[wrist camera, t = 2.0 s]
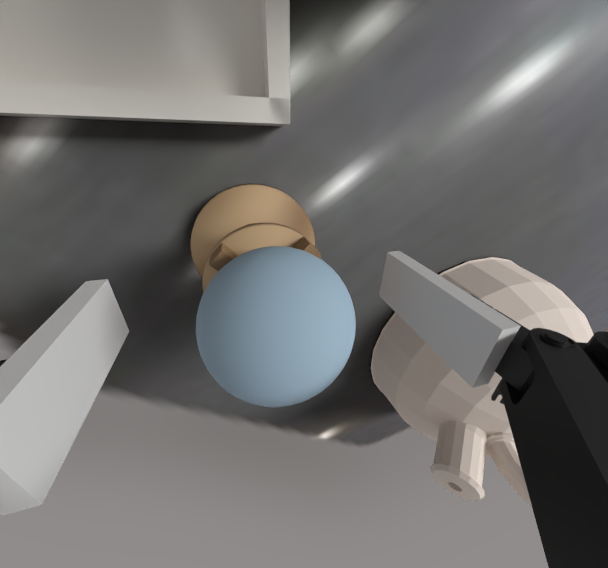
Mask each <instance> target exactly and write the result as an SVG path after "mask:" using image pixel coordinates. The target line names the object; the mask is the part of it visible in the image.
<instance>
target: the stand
mask: <svg viewBox="0 0 608 568" xmlns="http://www.w3.org/2000/svg"><path fill="white" fill-rule="evenodd" d="M269 246H283V247H292V248H296V249H300V250H303V251H306V252H308V253H310V254H312V255H314V256H316V257H318V258H319V259H321V258H320V256H321V253H320V252H319V251H318V250H317V249H316V248H315V238H314V231H313V228H312V225H311V222H310V220H309V218H308V216H307V214H306V213H305V211H304V210H303V209H302V208H301V206H300V205H299V204H298V203H297V202H296V201H294V200H293V199H292V198H291V197H290V196H288V195H287V194H285V193H284V192H282V191H280V190H278V189H276V188H273V187H270V186H267V185H262V184H241V185H237V186H233V187H230V188H228V189H225V190H223V191H222V192H220V193H218V194H217V195H215V196H214V197H213V198H211V199H210V200H209V201H208V202H207V203H206V204H205V205H204V207H203V208H202V210H201V211H200V213H199V215H198V217H197V219H196V221H195V224H194V227H193V230H192V235H191V253H192V258H193V261H194V264H195V266H196V268H197V271H198V272H199V274H200V275H201V277H202V278H203V285H202V286H203V293H204V292H205V290H206V288H207V286H208V284H209V283H210V281H211V280H212V279H213V277H214V276H215V275H216V273H217V272H218V271H219V270H221V269H222V268H223V267H224V266H225V265H226V264H227V263H229V262H230V261H232V260H233V259H234V258H236V257H238V256H240V255H241V254H243V253H246V252H248V251H251V250H254V249H258V248H262V247H269Z"/></svg>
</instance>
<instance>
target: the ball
mask: <svg viewBox="0 0 608 568" xmlns="http://www.w3.org/2000/svg"><path fill="white" fill-rule="evenodd" d="M355 326H356V321H355V312H354V307H353V303H352V300H351V297H350V295H349V293H348V290H347V288H346V286H345V285H344V283H343V282H342V280H341V279H340V277H339V276H338V274H337V273H336V272H335V271H334V270H333V269H332V268H331V267H330V266H329V265H328V264H326V263H325V262H324V261H322V260H321V259H319V258H318V257H316V256H314V255H312V254H310V253H308V252H306V251H303V250H300V249H296V248H292V247H283V246H269V247H262V248H258V249H254V250H251V251H248V252H246V253H243V254H241V255H240V256H238V257H236V258H234V259H233V260H232V261H230V262H229V263H227V264H226V265H225V266H224V267H223V268H222V269H221V270H219V271H218V272H217V273H216V275H215V276H214V277H213V279H212V280H211V281H210V283H209V284H208V286H207V288H206V290H205V292H204V293H203V296H202V298H201V301H200V304H199V308H198V312H197V317H196V337H197V343H198V349H199V352H200V355H201V357H202V360H203V362H204V364H205V366H206V368H207V370H208V371H209V373H210V374H211V375H212V377H213V378H214V379H215V380H216V382H217V383H218V384H219V385H221V386H222V387H223V388H224V389H225V390H226V391H227V392H229V393H230V394H232V395H233V396H235V397H237V398H239V399H241V400H243V401H245V402H248V403H251V404H255V405H259V406H265V407H283V406H289V405H294V404H297V403H300V402H303V401H306V400H308V399H310V398H312V397H314V396H316V395H317V394H319V393H320V392H322V391H323V390H324V389H326V388H327V387H328V386H329V385H330V384H331V383H332V382H333V381H334V380H335V379H336V378H337V376H338V375H339V374H340V372H341V371H342V370H343V368H344V366H345V364H346V363H347V360H348V358H349V356H350V353H351V351H352V347H353V343H354V338H355Z"/></svg>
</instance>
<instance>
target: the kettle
mask: <svg viewBox="0 0 608 568" xmlns="http://www.w3.org/2000/svg"><path fill="white" fill-rule="evenodd" d="M439 276H441V277H443V278H444V279H446V280H447V281H449V282H451V283H452V284H454V285H455V286H457V287H459V288H460V289H462V290H464V291H465V292H467V293H468V294H471V295H473V296H475V297H477V298H478V299H480V300H482V301H483V302H484V303H485V304H488V305H490V306H491V307H493V309H496V310H498V311H500V312H501V313H503V314H504V315H506V316H508V317H509V318H511V319H513V320H514V321H516V322H517V323H519V324H521V325H522V326H524V327H526V328H527V329H529V330H532V329H533V328H544V329H549V330H552V331H556V332H559V333H561V334H563V335H565V336H567V337H569V338H571V339H573V340H574V341H575V342H582V343H588V341H589V340H590V339H591V337H592V336H593V335H594V334H593V332H592V330H591V328H590V325H589V323H588V321H587V319H586V316H585V315H584V314H583V313H582V312H581V311H580V310H579V309H578V307H577V306H576V305H575V304H574V303H573V302H572V301H571V300H570V299H569V298H568V297H567V296H566V295H565V294H564V293H563V292H562V291H561V290H559V289H558V288H557V287H555V286H554V285H552V284H551V283H549V282H547V281H545V280H544V279H542V278H540V277H538V276H536V275H534V274H532V273H531V272H529V271H527V270H525V269H523V268H521V267H520V266H518V265H517V264H515V263H514V262H512V261H511V260H506V259H500V258H493V257H490V258H484V259H478V260H473V261H468V262H465V263H463V264H461V265H458V266H456V267H454V268H451V269H449V270H447V271H444V272H442V273H440V274H439ZM371 372H372V377H373V381H374V383H375V385H376V386H377V387H378V388H379V390H380V391H381V392H382V393H383V394H384V395H385V396H386V398H387V399H388V400H389V401H390V403H391V404H392V405H393V407H394V408H395V409H396V411H397V412H398V413H399V414H400V416H401V417H402V418H403V420H404V421H405V422H407V423H408V424H409V425H411V426H412V427H413V428H415V429H416V430H417V431H419V432H420V433H421V434H422V435H424V436H425V437H426V438H428V439H430V440H433V441H435V442H437V446H436V452H435V458H434V464H432V465H431V466H430V467H431V472H432V475H433V477H434V478H435V480H436V481H437V482H438V483H439V484H440V485H441V486H442V487H443V488H445V489H446V490H448V491H449V492H451V493H452V494H454V495H456V496H458V497H460V498H463V499H466V500H469V501H478V500H480V499H481V498H483V497H484V496H485V493H484V490H483V489H482V481H483V472H484V463H485V457H486V458H492V459H493V460H494V462H495V464H496V466H497V468H498V470H499V472H500V473H501V474H502V475H503V476H504V477H505V478H506V480H507V481H508V482H509V484H510V485H511V486H512V487H513V488H514V490H515V491H516V492H517V493H518V494H519V496H520V497H521V498H522V499H523V500H524V501H526V502H527V503H528V504H529V505H530V506H532V504H531V501H530V497H529V493H528V490H527V486H526V482H525V479H524V475H523V471H522V468H521V464H520V460H519V457H518V453H517V449H516V446H515V442H514V438H513V435H512V431H511V428H510V424H509V420H508V417H507V413H506V409H505V406H504V404H502V403H500V401H501V399H502V395H498V397H497V398H496V400H495V401H492V400H491V396H492V394H493V392H494V391H495V389H496V387H497V386H498V384H499V382H500V381H501V379H502V377H501V376H500V375H499V374H497V373H496V372H495V373H494V375H493V376H492V378H491V380H490V382H489V383H488V384H485V385H482V386H478V387H474V388H472V387H471V386H470V385H469V384H468V383H467V382H466V381H465V380H464V379H463V378H462V377H460V376H459V375H458V374H457V373H456V372H455V371H454V370H453V369H452V368H451V367H450V366H449V365H448V364H447V363H446V362H445V361H444V360H443V359H442V358H441V357H440V356H439V355H438V354H437V353H436V352H435V351H434V350H433V349H432V348H431V347H430V346H429V345H428V344H427V343H426V342H425V341H424V340H423V339H422V338H421V337H420V336H419V335H418V334H417V333H416V332H415V331H414V330H413V329H412V328H411V327H410V326H409V325H408V324H407V323H406V322H405V321H404V320H403V319H402V318H401V317H400V316H399V315H398V314H397V313H396V312H394V314H393V315H392V317H391V318H390V319H389V321H388V322H387V323H386V325H385V326H384V328H383V329H382V331H381V334H380V336H379V338H378V340H377V343H376V345H375V347H374V350H373V355H372V362H371Z"/></svg>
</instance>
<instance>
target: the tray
mask: <svg viewBox="0 0 608 568" xmlns="http://www.w3.org/2000/svg"><path fill="white" fill-rule="evenodd" d="M0 116H18V117H45V118H72V119H98V120H125V121H152V122H178V123H205V124H232V125H258V126H285V125H289V124H290V0H0Z"/></svg>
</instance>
